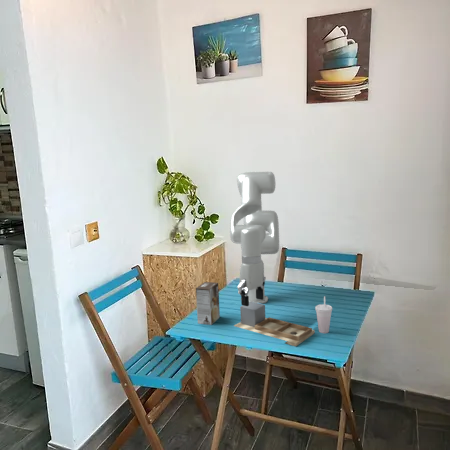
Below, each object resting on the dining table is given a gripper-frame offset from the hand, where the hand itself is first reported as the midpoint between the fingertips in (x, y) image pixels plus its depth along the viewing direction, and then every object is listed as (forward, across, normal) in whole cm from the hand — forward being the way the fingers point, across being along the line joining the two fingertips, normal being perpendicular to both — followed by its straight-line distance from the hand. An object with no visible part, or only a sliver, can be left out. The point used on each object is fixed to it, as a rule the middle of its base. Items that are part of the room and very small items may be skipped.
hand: (252, 302), depth 173 cm
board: (+10, -1, +9) cm, 13 cm away
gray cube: (+9, -1, -1) cm, 9 cm away
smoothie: (+10, -11, +25) cm, 29 cm away
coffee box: (+10, +7, -17) cm, 21 cm away
